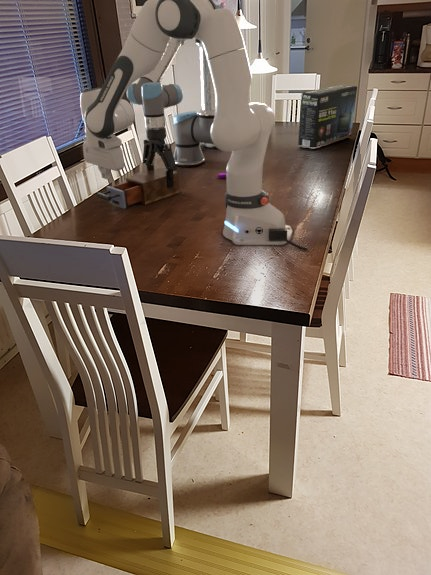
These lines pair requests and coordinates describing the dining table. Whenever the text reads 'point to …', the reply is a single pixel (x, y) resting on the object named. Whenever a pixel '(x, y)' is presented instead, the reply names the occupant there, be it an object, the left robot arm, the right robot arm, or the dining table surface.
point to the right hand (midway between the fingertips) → (106, 178)
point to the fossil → (207, 145)
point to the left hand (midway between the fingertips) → (161, 184)
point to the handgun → (222, 175)
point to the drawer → (123, 194)
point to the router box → (326, 115)
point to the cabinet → (155, 184)
